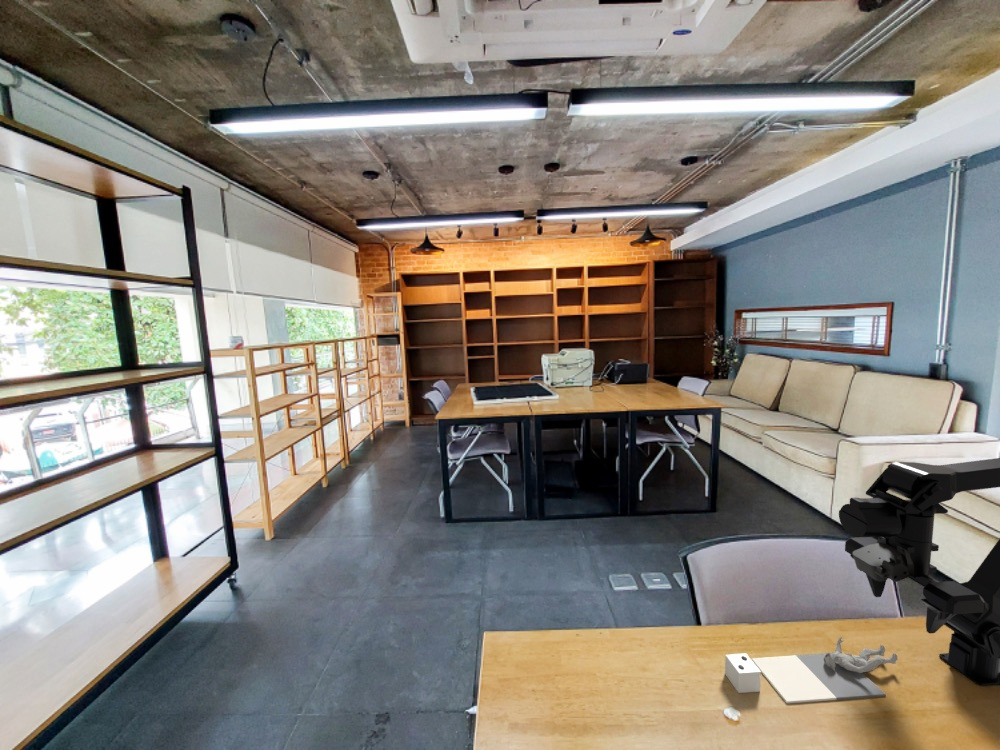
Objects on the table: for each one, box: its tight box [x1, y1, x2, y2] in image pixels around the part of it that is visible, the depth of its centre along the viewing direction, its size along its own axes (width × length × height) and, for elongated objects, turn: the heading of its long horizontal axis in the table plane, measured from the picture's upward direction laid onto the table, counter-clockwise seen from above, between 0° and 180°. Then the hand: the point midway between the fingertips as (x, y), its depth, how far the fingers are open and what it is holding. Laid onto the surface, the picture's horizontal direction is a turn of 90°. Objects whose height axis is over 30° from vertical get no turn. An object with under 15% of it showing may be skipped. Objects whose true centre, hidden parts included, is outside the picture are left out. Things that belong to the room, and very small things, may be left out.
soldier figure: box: [824, 636, 898, 674], centre depth 74 cm, size 8×5×12 cm
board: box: [751, 652, 887, 704], centre depth 73 cm, size 18×9×1 cm, turn 92°
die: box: [724, 652, 762, 694], centre depth 72 cm, size 4×4×4 cm
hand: (902, 613), depth 72 cm, fingers open, 9 cm apart
